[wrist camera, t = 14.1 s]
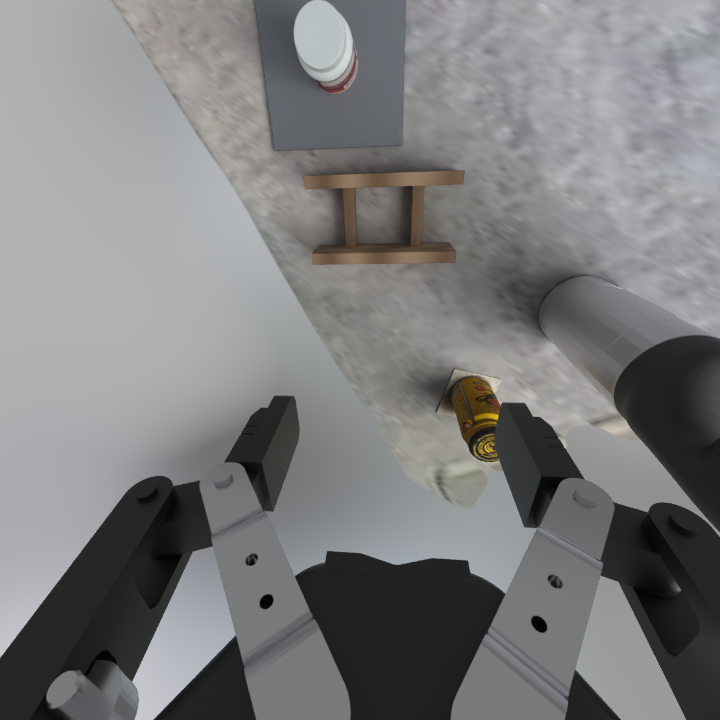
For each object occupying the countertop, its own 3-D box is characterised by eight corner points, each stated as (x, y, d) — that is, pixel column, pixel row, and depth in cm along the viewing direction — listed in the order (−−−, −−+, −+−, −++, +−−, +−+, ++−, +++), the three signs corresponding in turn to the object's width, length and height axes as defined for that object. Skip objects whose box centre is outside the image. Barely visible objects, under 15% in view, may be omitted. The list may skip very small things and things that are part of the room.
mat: (406, -44, 30) (406, -47, 29) (401, 145, 36) (402, 144, 36) (252, -30, 31) (250, -33, 30) (275, 150, 38) (274, 150, 37)
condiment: (501, 378, 50) (531, 434, 39) (479, 421, 54) (501, 482, 43) (454, 368, 49) (471, 420, 39) (435, 412, 54) (447, 470, 43)
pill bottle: (303, 44, 33) (278, 7, 25) (349, 23, 32) (337, -21, 24) (320, 102, 35) (301, 84, 27) (364, 84, 34) (357, 60, 26)
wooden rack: (455, 170, 37) (464, 170, 33) (448, 252, 41) (455, 262, 37) (313, 175, 38) (303, 176, 34) (320, 255, 43) (312, 264, 38)
